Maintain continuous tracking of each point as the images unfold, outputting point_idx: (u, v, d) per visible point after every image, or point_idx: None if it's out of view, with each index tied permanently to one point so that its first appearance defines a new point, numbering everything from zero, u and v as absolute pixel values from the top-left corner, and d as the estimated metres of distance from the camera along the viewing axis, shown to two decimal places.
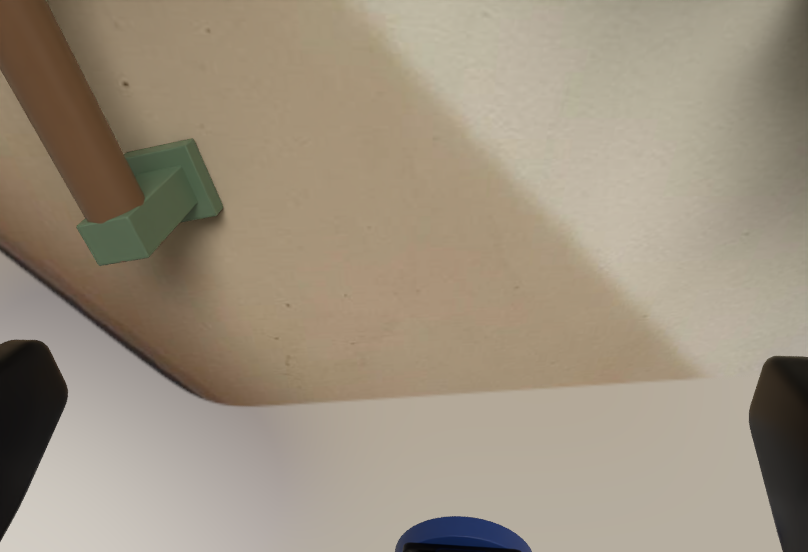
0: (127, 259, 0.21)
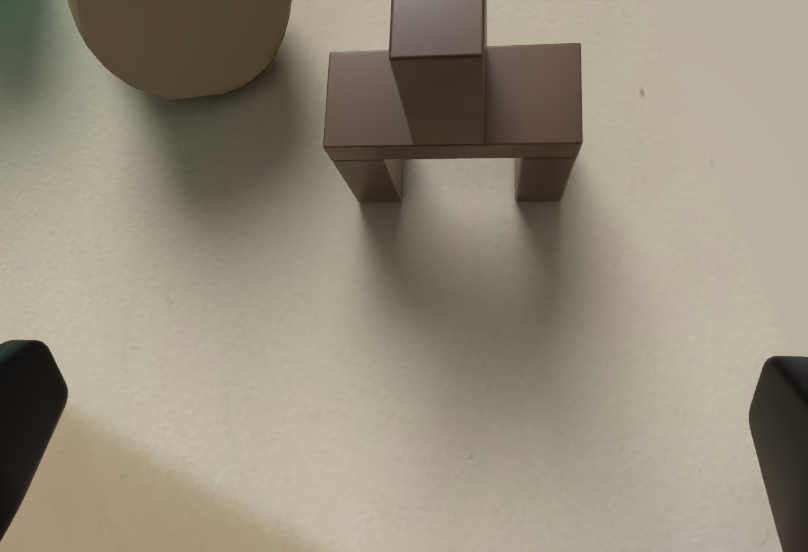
0: None
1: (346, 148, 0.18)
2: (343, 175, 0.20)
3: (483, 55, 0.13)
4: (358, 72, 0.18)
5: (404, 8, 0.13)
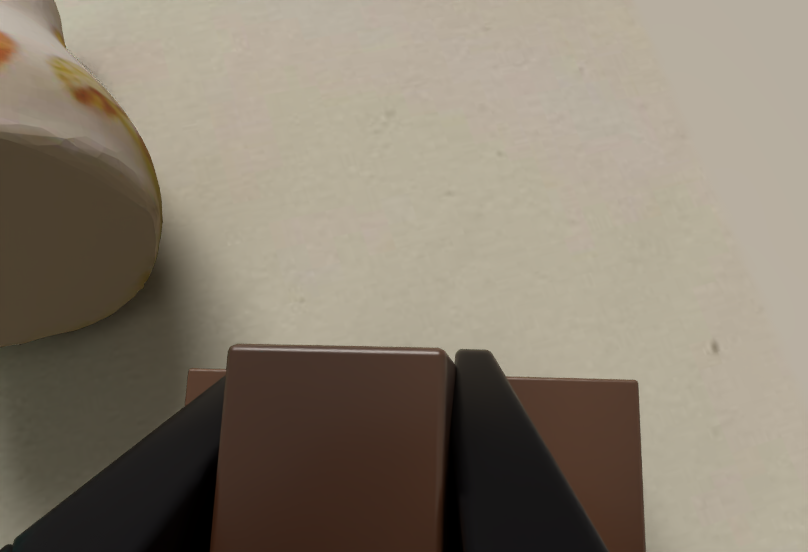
0: None
1: None
2: None
3: None
4: None
5: None
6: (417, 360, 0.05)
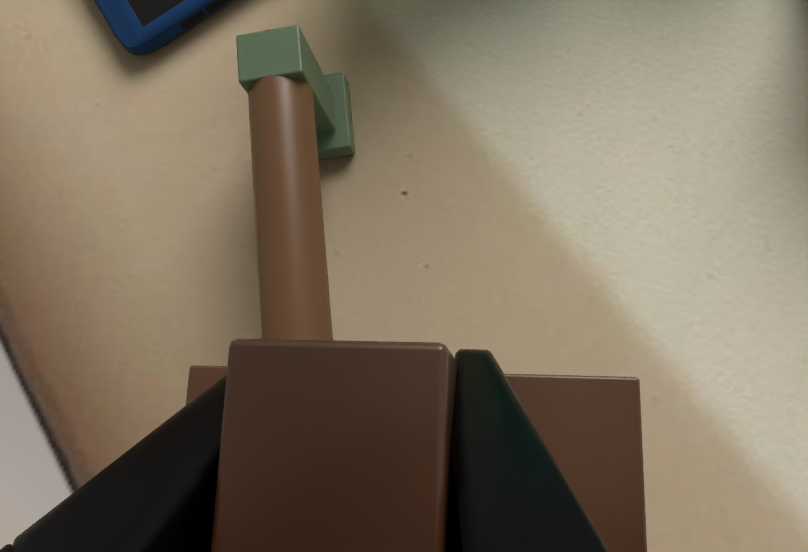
0: None
1: None
2: None
3: None
4: None
5: None
6: (418, 355, 0.05)
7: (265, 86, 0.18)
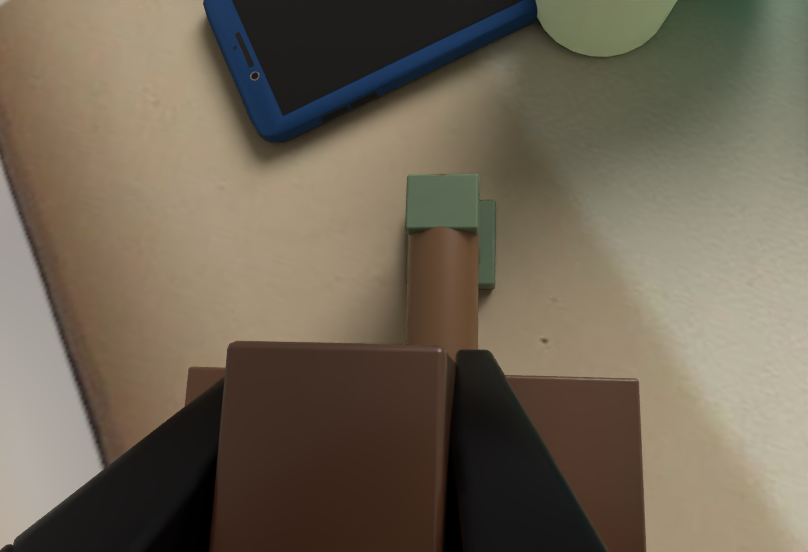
0: None
1: None
2: None
3: None
4: None
5: None
6: (417, 357, 0.05)
7: (434, 238, 0.17)
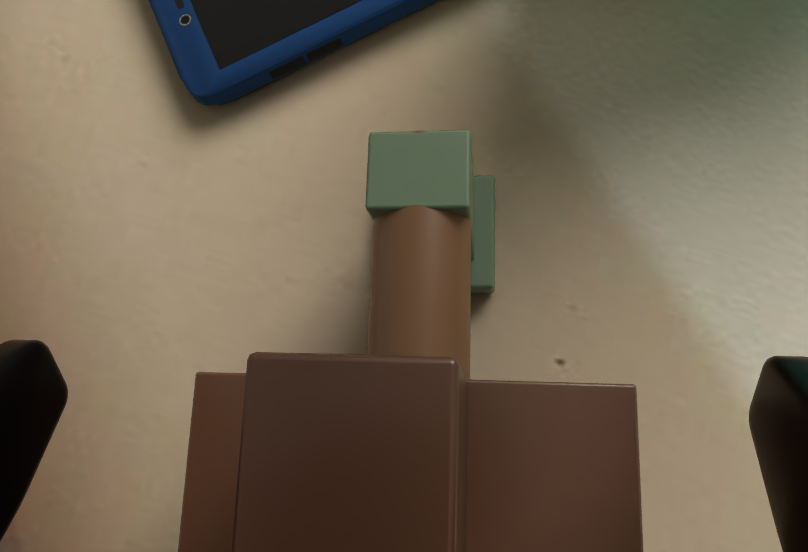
0: None
1: None
2: None
3: None
4: (243, 416, 0.10)
5: None
6: (431, 369, 0.06)
7: (407, 221, 0.12)
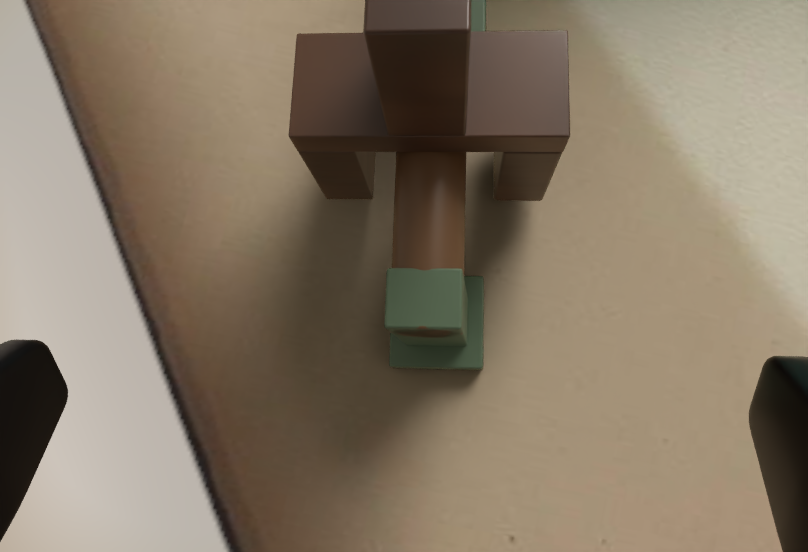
0: (430, 325, 0.16)
1: (314, 138, 0.16)
2: (310, 169, 0.18)
3: (469, 31, 0.11)
4: (328, 56, 0.17)
5: None
6: None
7: None
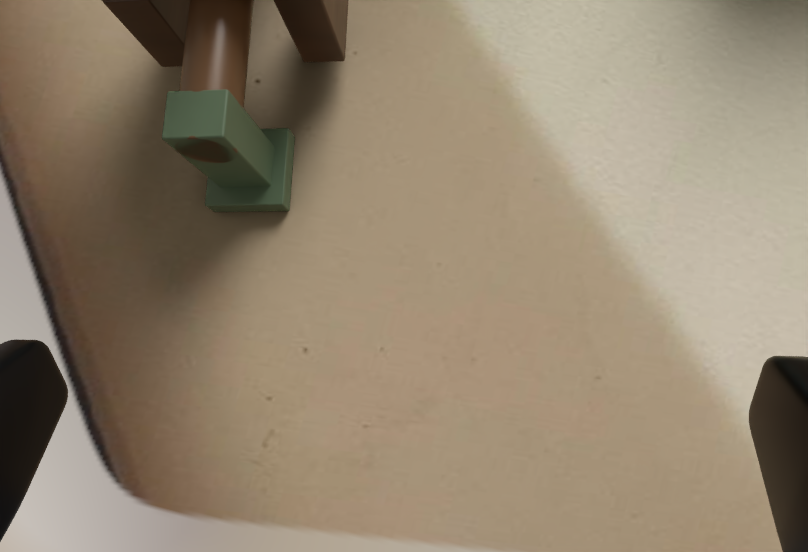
0: (198, 134, 0.19)
1: None
2: (125, 24, 0.21)
3: None
4: None
5: None
6: None
7: None
